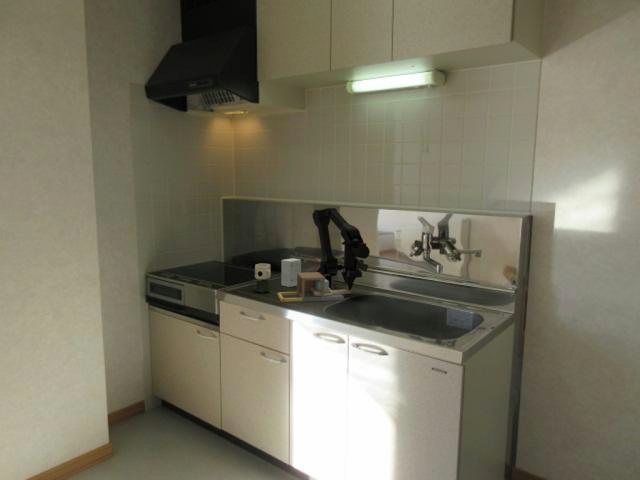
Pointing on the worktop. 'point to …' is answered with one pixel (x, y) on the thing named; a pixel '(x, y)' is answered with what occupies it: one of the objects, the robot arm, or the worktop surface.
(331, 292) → the sled
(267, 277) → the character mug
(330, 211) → the robot arm
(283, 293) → the tunnel track
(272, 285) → the worktop surface
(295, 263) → the small box
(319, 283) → the block
